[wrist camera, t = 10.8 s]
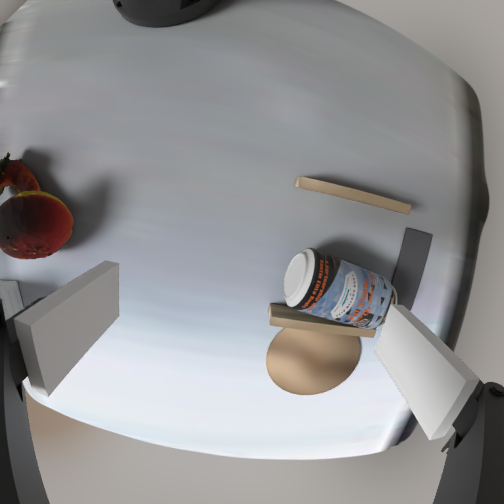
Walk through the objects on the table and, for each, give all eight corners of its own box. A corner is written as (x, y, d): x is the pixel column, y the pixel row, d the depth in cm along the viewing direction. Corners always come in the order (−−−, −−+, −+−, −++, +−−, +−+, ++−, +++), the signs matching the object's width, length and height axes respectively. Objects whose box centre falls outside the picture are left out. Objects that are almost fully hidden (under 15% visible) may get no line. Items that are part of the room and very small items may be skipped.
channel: (296, 177, 29) (301, 176, 26) (396, 202, 30) (411, 205, 26) (268, 311, 33) (269, 325, 29) (363, 324, 33) (373, 337, 30)
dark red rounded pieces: (47, 199, 37) (53, 283, 32) (-18, 181, 26) (-30, 273, 21) (84, 142, 33) (93, 229, 27) (10, 112, 22) (-13, 204, 17)
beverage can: (306, 240, 25) (415, 277, 25) (288, 248, 32) (380, 277, 33) (285, 312, 24) (399, 339, 25) (272, 303, 31) (366, 327, 32)
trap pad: (406, 227, 30) (407, 228, 30) (431, 234, 31) (432, 235, 30) (383, 307, 33) (384, 308, 32) (408, 310, 33) (409, 311, 33)
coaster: (277, 308, 33) (278, 309, 32) (371, 321, 33) (372, 322, 33) (257, 389, 35) (257, 390, 35) (342, 395, 36) (342, 397, 35)
